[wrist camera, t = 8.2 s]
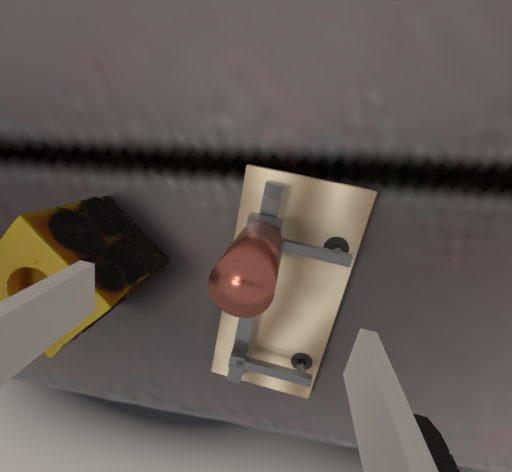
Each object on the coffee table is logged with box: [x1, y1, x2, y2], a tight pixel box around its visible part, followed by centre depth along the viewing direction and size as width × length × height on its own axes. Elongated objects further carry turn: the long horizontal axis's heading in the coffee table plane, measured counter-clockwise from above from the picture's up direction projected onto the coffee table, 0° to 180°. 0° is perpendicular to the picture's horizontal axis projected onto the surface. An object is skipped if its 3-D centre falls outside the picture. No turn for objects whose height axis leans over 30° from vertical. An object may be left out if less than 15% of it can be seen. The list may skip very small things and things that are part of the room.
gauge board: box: [211, 164, 377, 399], centre depth 29 cm, size 12×25×1 cm, turn 169°
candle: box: [0, 196, 169, 358], centre depth 28 cm, size 10×10×10 cm
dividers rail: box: [227, 181, 312, 387], centre depth 28 cm, size 9×23×3 cm, turn 169°
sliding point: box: [208, 212, 353, 318], centre depth 21 cm, size 10×4×11 cm, turn 79°
